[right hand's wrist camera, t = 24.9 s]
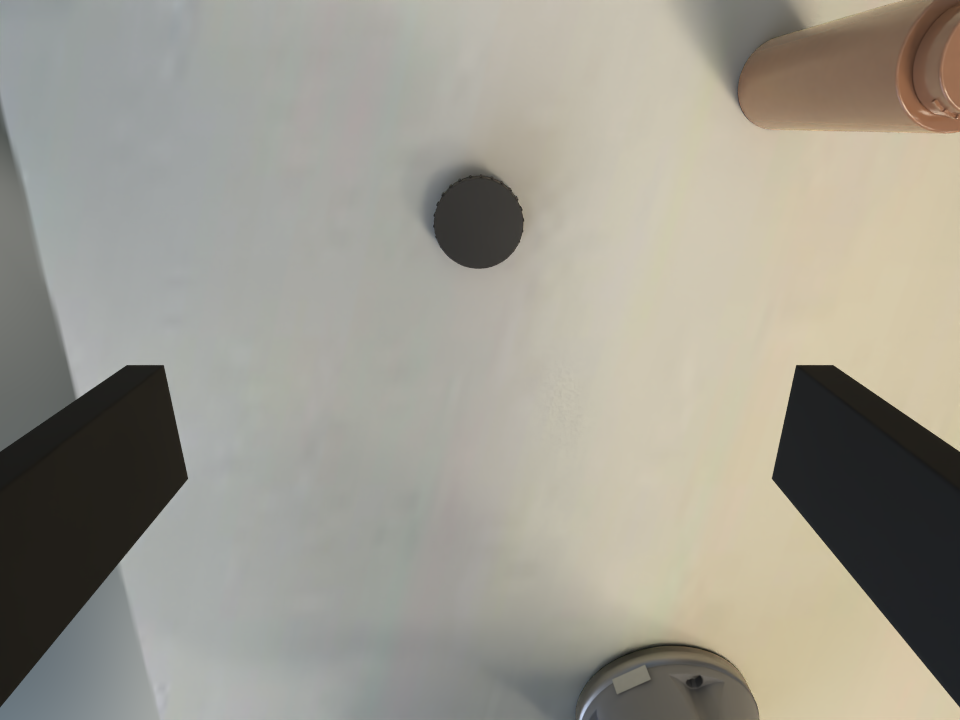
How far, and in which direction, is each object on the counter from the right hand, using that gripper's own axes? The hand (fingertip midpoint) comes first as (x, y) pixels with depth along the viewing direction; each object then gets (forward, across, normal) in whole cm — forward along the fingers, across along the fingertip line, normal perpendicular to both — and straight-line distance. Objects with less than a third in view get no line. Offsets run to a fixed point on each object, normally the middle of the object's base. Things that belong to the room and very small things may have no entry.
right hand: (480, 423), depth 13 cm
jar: (+26, +17, +8) cm, 32 cm away
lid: (+25, 0, 0) cm, 25 cm away
